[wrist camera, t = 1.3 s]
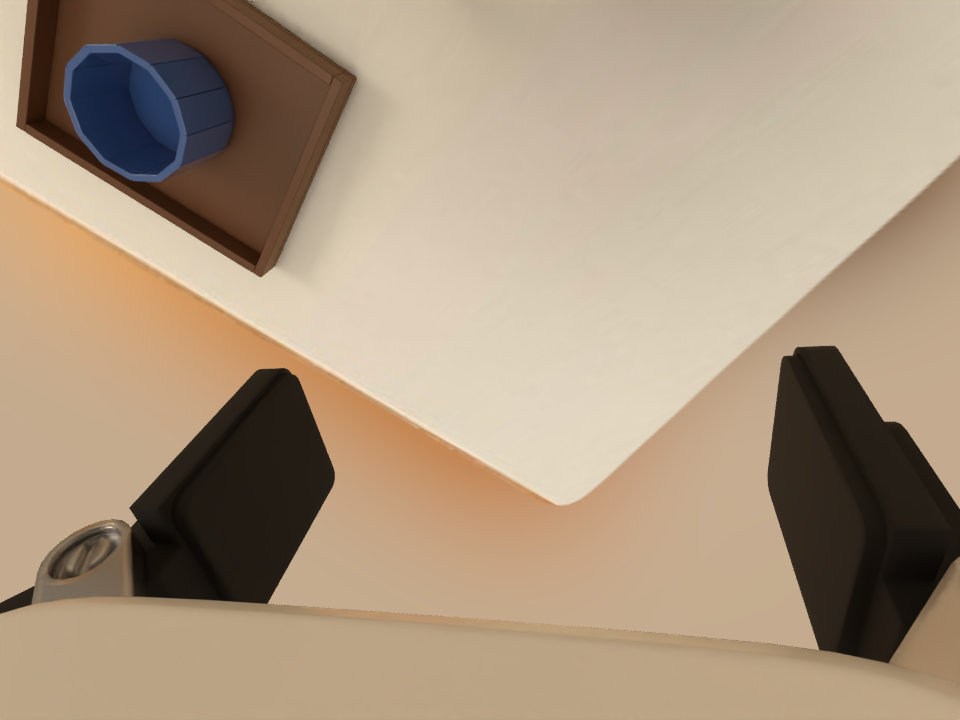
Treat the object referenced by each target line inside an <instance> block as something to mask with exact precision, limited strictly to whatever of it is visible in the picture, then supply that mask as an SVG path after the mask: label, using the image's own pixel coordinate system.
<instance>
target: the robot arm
mask: <svg viewBox="0 0 960 720" xmlns="http://www.w3.org/2000/svg"><path fill="white" fill-rule="evenodd" d="M334 473H335V472H334V468H333V466H332V463H331V460H330V458H329V455H328V453H327V450H326V448H325V445H324V443H323V440H322V438H321V435H320V432H319V430H318V427H317V425H316V422H315V420H314V417H313V414H312V412H311V409H310V407H309V404H308V402H307V399H306V396H305V394H304V391H303V389H302V386H301V384H300V381H299V379H298V378H297V377H296V376H295V375H292V374H291V372H290V371H289V370H288V369H285V368H279V369H260V370H257V371H256V372H255V373H254V374H253V375H252V376H251V377H250V378H249V379H248V380H247V381H246V383H245V384H244V385H243V386H242V387H241V388H240V389H239V390H238V391H237V392H236V394H234V396H233V397H232V398H231V399H230V400H229V401H228V402H227V403H226V404H225V405H224V406H223V407H222V408H221V410H220V411H219V412H218V413H217V414H216V415H215V416H214V417H213V418H212V419H211V420H210V421H209V422H208V424H207V425H206V426H205V427H204V428H203V429H202V430H201V431H200V432H199V433H198V434H197V435H196V436H195V438H194V439H193V440H192V441H191V442H190V443H189V444H188V445H187V446H186V447H185V448H184V449H183V451H182V452H181V453H180V454H179V455H178V456H177V457H176V458H175V459H174V460H173V461H172V462H171V464H170V465H169V466H168V467H167V468H166V469H165V470H164V471H163V472H162V473H161V474H160V475H159V476H158V477H157V479H156V480H155V481H154V482H153V483H152V484H151V485H150V486H149V487H148V488H147V489H146V490H145V492H144V493H143V494H142V495H141V496H140V497H139V498H138V499H137V500H136V501H135V502H134V503H133V504H132V506H131V507H130V510H131V511H132V513H133V514H134V516H135V517H136V519H137V521H136V522H135V524H134V525H133V526H132V527H131V528H130V526H129V525H128V524H127V523H125V522H124V521H122V520H115V519H111V520H105V521H100V522H97V523H94V524H91V525H88V526H86V527H84V528H82V529H80V530H78V531H76V532H74V533H73V534H71V535H70V536H68V537H67V538H66V539H64V540H63V541H61V542H60V543H59V544H58V545H57V546H56V547H55V548H53V549H52V551H50V552H49V554H48V555H47V556H46V557H45V559H44V560H43V561H42V563H41V565H40V567H39V570H38V572H37V577H36V582H35V586H33V587H32V588H29V589H28V590H25V591H23V592H21V593H19V594H17V595H15V596H13V597H11V598H10V599H7V600H5V601H4V602H1V603H0V720H960V509H959V507H958V506H957V505H956V503H955V502H954V500H953V499H952V497H951V496H950V494H949V493H948V491H947V490H946V488H945V487H944V485H943V484H942V482H941V481H940V479H939V478H938V476H937V475H936V473H935V472H934V471H933V469H932V467H931V466H930V465H929V463H928V461H927V460H926V458H925V457H924V455H923V454H922V452H921V451H920V449H919V448H918V446H917V445H916V444H915V442H914V441H913V439H912V438H911V436H910V435H909V433H908V432H907V430H906V429H905V428H904V427H903V426H902V425H901V424H899V423H897V422H884V421H883V420H882V418H881V417H880V415H879V413H878V412H877V410H876V408H875V407H874V405H873V404H872V402H871V401H870V399H869V397H868V396H867V394H866V393H865V391H864V390H863V388H862V386H861V385H860V383H859V382H858V380H857V378H856V377H855V376H854V374H853V372H852V371H851V369H850V367H849V366H848V364H847V363H846V361H845V360H844V358H843V356H842V355H841V353H840V352H839V350H838V349H837V348H836V347H835V346H814V347H797V348H796V349H795V351H794V354H793V356H784V357H783V358H782V362H781V368H780V376H779V384H778V393H777V401H776V410H775V418H774V425H773V434H772V442H771V450H770V458H769V466H768V487H769V492H770V496H771V499H772V502H773V505H774V508H775V512H776V515H777V518H778V521H779V524H780V528H781V531H782V534H783V537H784V540H785V543H786V546H787V549H788V552H789V556H790V559H791V562H792V565H793V568H794V571H795V574H796V578H797V581H798V584H799V587H800V590H801V594H802V597H803V600H804V603H805V606H806V609H807V612H808V615H809V619H810V622H811V625H812V628H813V631H814V634H815V638H816V641H817V644H818V647H819V650H814V649H807V648H799V647H792V646H784V645H777V644H770V643H759V642H747V641H738V640H727V639H717V638H706V637H695V636H685V635H674V634H663V633H652V632H640V631H627V630H614V629H601V628H587V627H576V626H563V625H550V624H537V623H525V622H512V621H499V620H486V619H471V618H459V617H444V616H432V615H418V614H404V613H390V612H376V611H362V610H348V609H334V608H320V607H305V606H290V605H274V604H268V602H269V600H270V598H271V596H272V594H273V593H274V591H275V589H276V587H277V586H278V584H279V582H280V580H281V578H282V576H283V575H284V573H285V571H286V569H287V568H288V566H289V564H290V562H291V560H292V559H293V557H294V555H295V553H296V551H297V550H298V548H299V546H300V544H301V543H302V541H303V539H304V537H305V535H306V534H307V532H308V530H309V528H310V526H311V524H312V523H313V521H314V519H315V517H316V516H317V514H318V512H319V510H320V508H321V507H322V505H323V503H324V501H325V499H326V498H327V496H328V494H329V492H330V491H331V489H332V487H333V484H334V480H335V474H334Z"/></svg>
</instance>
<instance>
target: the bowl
mask: <svg viewBox="0 0 960 720" xmlns="http://www.w3.org/2000/svg"><path fill="white" fill-rule="evenodd" d="M63 97H64V101H65V104H66V107H67V109H68V112H69V115H70V117H71V120H72V123H73V125H74V128H75V131H76V133H78V136H79V137H80V138H81V140H82V141H83V142H84V143H85V144H86V146H87V147H88V148H89V149H90V150H91V151H92V153H93V154H94V155H95V156H96V157H97V159H98V160H99V161H100V162H101V163H103V165H105V166H107V167H108V168H110V169H112V170H114V171H115V172H117V173H119V174H121V175H122V176H124V177H126V178H128V179H129V180H133V181H146V182H161V181H164V180H166V179H169V178H171V177H173V176H176V175H178V174H180V173H183V172H185V171H188V170H190V169H192V168H195V167H197V166H199V165H202V164H204V163H206V162H208V161H210V160H211V159H212V158H213V157H215V156H216V155H217V154H219V153H220V152H221V151H223V150H224V149H225V147H226V146H227V143H228V141H229V139H230V137H231V134H232V131H233V126H234V110H233V105H232V100H231V97H230V94H229V91H228V89H227V86H226V84H225V82H224V81H223V79H222V77H221V76H220V74H219V72H218V71H217V70H216V68H215V67H214V66H213V65H212V64H211V63H210V62H209V60H208V59H207V58H205V57H204V56H203V55H202V54H201V53H199V52H198V51H197V50H195V49H194V48H192V47H190V46H188V45H186V44H184V43H181V42H179V41H177V40H176V39H173V38H144V39H134V40H124V41H114V42H104V43H94V44H87V45H85V46H84V47H83V48H82V49H81V50H80V51H79V52H78V53H77V54H76V55H75V56H74V57H73V58H72V59H71V60H70V61H69V62H68V63H67V66H66V70H65V82H64V95H63Z"/></svg>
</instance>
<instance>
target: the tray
mask: <svg viewBox="0 0 960 720" xmlns="http://www.w3.org/2000/svg"><path fill="white" fill-rule="evenodd" d="M144 38H173V39H176V40H177V41H179V42H181V43H184V44H186V45H188V46H190V47H192V48H194V49H195V50H197V51H198V52H199V53H201V54H202V55H203V56H204V57H205V58H207V59H208V60H209V62H210V63H211V64H212V65H213V66H214V67H215V68H216V70H217V71H218V72H219V74H220V76H221V77H222V79H223V81H224V82H225V84H226V86H227V89H228V91H229V94H230V97H231V100H232V105H233V110H234V126H233V131H232V134H231V137H230V139H229V141H228V143H227V146H226V147H225V149H224V150H223V151H221V152H220V153H219V154H217V155H216V156H215V157H213V158H212V159H211V160H210V161H208V162H206V163H204V164H202V165H199V166H197V167H195V168H192V169H190V170H188V171H185V172H183V173H180V174H178V175H176V176H173V177H171V178H169V179H166V180H164V181H161V182H146V181H133V180H129V179H128V178H126V177H124V176H122V175H121V174H119V173H117V172H115V171H114V170H112V169H110V168H108V167H107V166H105V165H103V163H101V162H100V161H99V160H98V159H97V157H96V156H95V155H94V154H93V153H92V151H91V150H90V149H89V148H88V147H87V146H86V144H85V143H84V142H83V141H82V140H81V138H80V137H79V136H78V133H76V131H75V128H74V125H73V123H72V120H71V117H70V115H69V112H68V109H67V107H66V104H65V101H64V97H63V95H64V82H65V70H66V66H67V63H68V62H69V61H70V60H71V59H72V58H73V57H74V56H75V55H76V54H77V53H78V52H79V51H80V50H81V49H82V48H83V47H84V46H85V45H87V44H94V43H104V42H114V41H124V40H134V39H144ZM355 80H356V77H354V76H353V75H351V74H350V73H348V72H347V71H346V70H344V69H343V68H341V67H340V66H338V65H337V64H335V63H334V62H333V61H331V60H330V59H328V58H327V57H325V56H324V55H323V54H321V53H320V52H318V51H317V50H315V49H314V48H313V47H311V46H310V45H308V44H307V43H305V42H304V41H302V40H301V39H300V38H298V37H297V36H295V35H294V34H292V33H291V32H290V31H288V30H287V29H285V28H284V27H282V26H281V25H280V24H278V23H277V22H275V21H274V20H272V19H271V18H269V17H268V16H267V15H265V14H264V13H262V12H261V11H259V10H258V9H257V8H255V7H254V6H252V5H251V4H249V3H248V2H247V1H245V0H28V3H27V14H26V25H25V36H24V47H23V58H22V69H21V80H20V91H19V102H18V113H17V123H16V126H17V127H18V128H20V129H21V130H23V131H25V132H26V133H28V134H29V135H31V136H33V137H34V138H36V139H37V140H39V141H41V142H42V143H44V144H45V145H47V146H49V147H50V148H52V149H54V150H55V151H57V152H58V153H60V154H62V155H63V156H65V157H66V158H68V159H70V160H71V161H73V162H75V163H76V164H78V165H79V166H81V167H83V168H84V169H86V170H88V171H89V172H91V173H92V174H94V175H96V176H97V177H99V178H100V179H102V180H104V181H105V182H107V183H109V184H110V185H112V186H113V187H115V188H117V189H118V190H120V191H121V192H123V193H125V194H126V195H128V196H130V197H131V198H133V199H134V200H136V201H138V202H139V203H141V204H142V205H144V206H146V207H147V208H149V209H151V210H152V211H154V212H155V213H157V214H159V215H160V216H162V217H163V218H165V219H167V220H168V221H170V222H172V223H173V224H175V225H176V226H178V227H180V228H181V229H183V230H185V231H186V232H188V233H189V234H191V235H193V236H194V237H196V238H197V239H199V240H201V241H202V242H204V243H206V244H207V245H209V246H210V247H212V248H214V249H215V250H217V251H218V252H220V253H222V254H223V255H225V256H227V257H228V258H230V259H231V260H233V261H235V262H236V263H238V264H239V265H241V266H243V267H244V268H246V269H248V270H249V271H251V272H254V274H256V275H258V276H259V277H262V276H263V275H265V274H266V273H267V272H268V271H269V270H271V269H272V268H273V267H274V266H275V265H276V263H277V260H278V258H279V256H280V253H281V251H282V249H283V247H284V244H285V242H286V240H287V237H288V235H289V233H290V230H291V228H292V226H293V223H294V221H295V219H296V217H297V214H298V212H299V210H300V207H301V205H302V203H303V200H304V198H305V196H306V193H307V191H308V189H309V187H310V184H311V182H312V180H313V177H314V175H315V173H316V170H317V168H318V166H319V163H320V161H321V159H322V157H323V154H324V152H325V150H326V147H327V145H328V143H329V140H330V138H331V136H332V133H333V131H334V129H335V127H336V124H337V122H338V120H339V117H340V115H341V113H342V110H343V108H344V106H345V103H346V101H347V99H348V96H349V94H350V92H351V90H352V87H353V85H354V83H355Z"/></svg>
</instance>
